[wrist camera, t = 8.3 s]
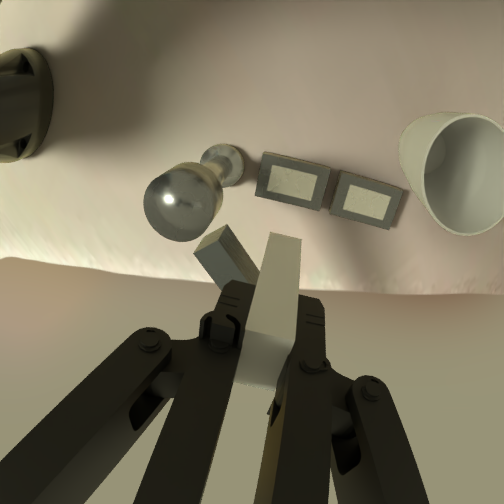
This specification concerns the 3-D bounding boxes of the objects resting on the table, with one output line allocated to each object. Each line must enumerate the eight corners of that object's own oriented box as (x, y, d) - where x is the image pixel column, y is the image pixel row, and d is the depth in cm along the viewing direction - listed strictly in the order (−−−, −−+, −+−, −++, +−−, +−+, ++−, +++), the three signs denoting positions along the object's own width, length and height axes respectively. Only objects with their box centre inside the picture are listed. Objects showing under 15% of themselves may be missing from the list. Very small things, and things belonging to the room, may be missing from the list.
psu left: (256, 192, 28) (254, 196, 27) (264, 151, 26) (262, 153, 25) (318, 207, 28) (319, 211, 27) (329, 167, 26) (330, 170, 25)
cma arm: (150, 183, 20) (131, 197, 18) (198, 149, 19) (182, 158, 16) (292, 371, 27) (289, 395, 25) (335, 358, 25) (336, 382, 23)
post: (200, 180, 29) (164, 212, 22) (205, 140, 27) (168, 159, 20) (240, 189, 28) (217, 224, 21) (247, 148, 26) (225, 169, 19)
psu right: (329, 210, 28) (329, 214, 27) (340, 170, 26) (341, 172, 25) (386, 225, 28) (389, 230, 27) (400, 188, 26) (403, 191, 25)
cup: (379, 185, 26) (412, 232, 17) (384, 98, 22) (426, 102, 14) (453, 193, 25) (505, 239, 16) (462, 112, 21) (525, 128, 12)
